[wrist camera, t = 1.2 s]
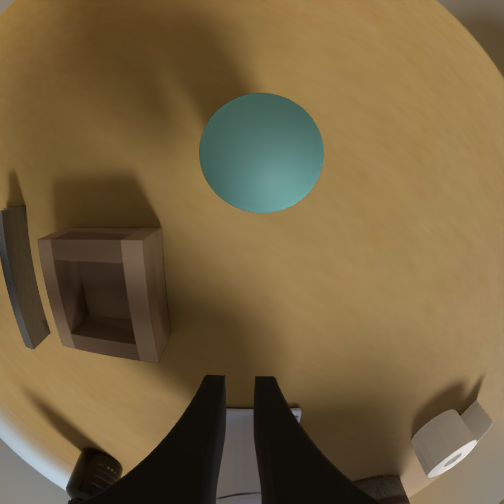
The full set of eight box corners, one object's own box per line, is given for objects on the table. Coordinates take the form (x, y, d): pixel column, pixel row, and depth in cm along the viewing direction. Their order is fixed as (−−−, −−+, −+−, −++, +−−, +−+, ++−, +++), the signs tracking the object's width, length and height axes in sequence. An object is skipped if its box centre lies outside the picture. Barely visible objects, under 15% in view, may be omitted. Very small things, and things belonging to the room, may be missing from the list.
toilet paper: (476, 399, 25) (497, 426, 18) (423, 448, 27) (438, 477, 20) (463, 387, 23) (488, 419, 16) (401, 443, 25) (418, 478, 19)
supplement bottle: (107, 470, 27) (89, 524, 16) (75, 447, 25) (50, 501, 14) (133, 470, 26) (115, 531, 15) (98, 445, 25) (72, 509, 13)
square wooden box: (170, 334, 19) (158, 363, 16) (83, 323, 19) (62, 345, 15) (161, 227, 17) (142, 240, 13) (66, 228, 17) (37, 239, 13)
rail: (50, 333, 19) (33, 349, 16) (32, 328, 19) (16, 343, 16) (25, 205, 16) (1, 211, 13) (8, 207, 16) (-15, 213, 13)
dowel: (282, 194, 17) (320, 215, 8) (223, 192, 16) (198, 211, 8) (284, 137, 16) (324, 98, 7) (225, 135, 15) (202, 92, 7)
